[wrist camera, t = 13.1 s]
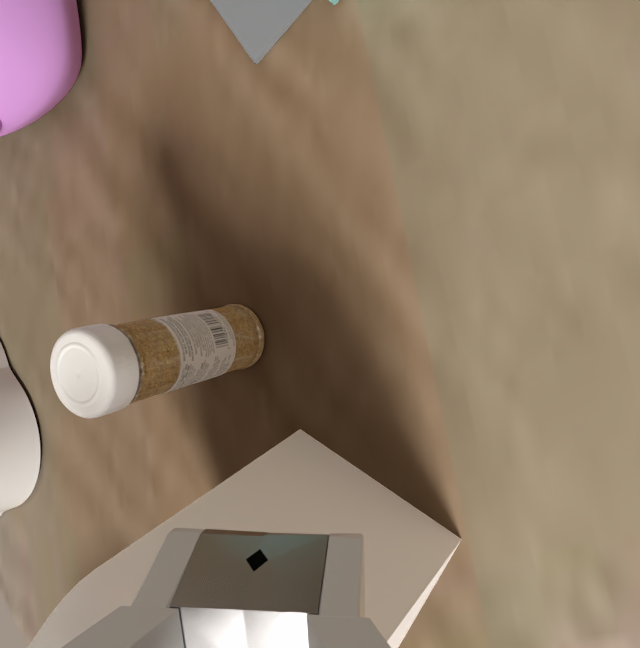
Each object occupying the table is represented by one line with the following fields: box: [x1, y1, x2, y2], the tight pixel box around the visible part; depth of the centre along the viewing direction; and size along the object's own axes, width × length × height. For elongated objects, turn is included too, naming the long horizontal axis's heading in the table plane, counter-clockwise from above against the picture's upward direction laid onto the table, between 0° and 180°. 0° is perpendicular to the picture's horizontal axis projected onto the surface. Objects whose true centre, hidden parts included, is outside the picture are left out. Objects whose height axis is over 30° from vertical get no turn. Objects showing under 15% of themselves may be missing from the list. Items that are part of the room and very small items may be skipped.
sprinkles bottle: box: [50, 304, 264, 418], centre depth 35 cm, size 5×5×14 cm
